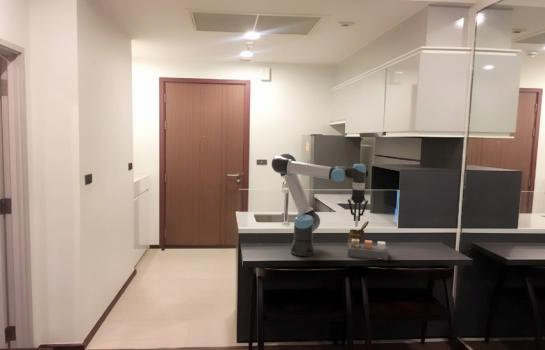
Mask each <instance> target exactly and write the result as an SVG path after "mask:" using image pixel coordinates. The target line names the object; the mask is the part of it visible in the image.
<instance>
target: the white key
mask: <svg viewBox="0 0 545 350" xmlns="http://www.w3.org/2000/svg"><path fill="white" fill-rule="evenodd" d="M376 246H377V250H385V246H386V241H382V240H381V241H379V240H378V241H377V245H376Z"/></svg>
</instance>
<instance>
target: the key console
mask: <svg viewBox="0 0 545 350" xmlns="http://www.w3.org/2000/svg"><path fill="white" fill-rule="evenodd" d="M351 244H352V243H349V246H348V247H347V257H351V256H354V258H360V257H366V258H365V259H370V258H381V259H389V248H388V246H386V245H385V250H377V246H378V245H374V244H372V249H366V248H364V245H365V243H364V244H363V243H360V244H359V248H356V247H351Z"/></svg>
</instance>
